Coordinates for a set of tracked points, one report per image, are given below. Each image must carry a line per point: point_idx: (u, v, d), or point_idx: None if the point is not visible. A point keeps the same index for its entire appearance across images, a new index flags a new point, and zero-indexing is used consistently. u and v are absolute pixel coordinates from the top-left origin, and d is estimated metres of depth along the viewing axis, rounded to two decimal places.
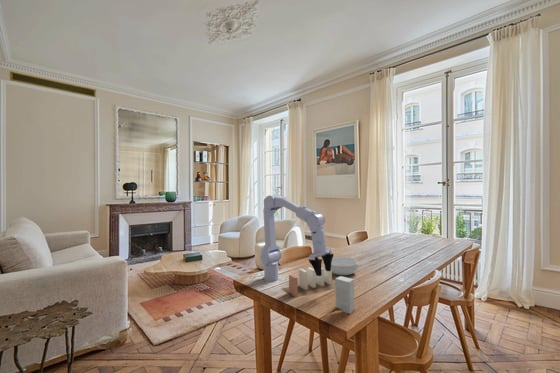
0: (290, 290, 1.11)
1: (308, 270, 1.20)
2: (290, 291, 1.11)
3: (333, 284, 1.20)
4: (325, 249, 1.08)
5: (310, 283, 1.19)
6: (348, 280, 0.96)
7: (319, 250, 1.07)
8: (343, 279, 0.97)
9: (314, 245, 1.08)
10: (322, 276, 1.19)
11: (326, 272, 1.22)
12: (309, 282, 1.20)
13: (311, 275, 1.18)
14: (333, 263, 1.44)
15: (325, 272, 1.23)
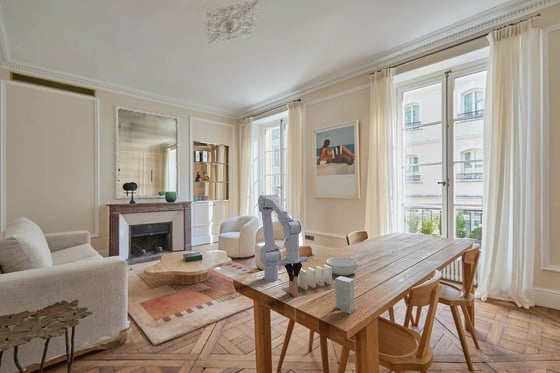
0: (290, 290, 1.11)
1: (308, 270, 1.20)
2: (290, 291, 1.11)
3: (333, 284, 1.20)
4: (295, 258, 1.08)
5: (310, 283, 1.19)
6: (348, 280, 0.96)
7: (289, 258, 1.08)
8: (343, 279, 0.97)
9: (286, 252, 1.10)
10: (322, 276, 1.19)
11: (326, 272, 1.22)
12: (309, 282, 1.20)
13: (311, 275, 1.18)
14: (333, 263, 1.44)
15: (325, 272, 1.23)
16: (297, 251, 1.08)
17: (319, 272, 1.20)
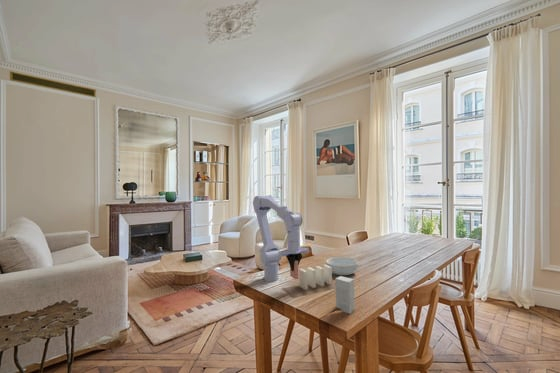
0: (291, 273, 1.16)
1: (308, 270, 1.20)
2: (291, 274, 1.16)
3: (333, 284, 1.20)
4: (296, 249, 1.12)
5: (310, 283, 1.19)
6: (348, 280, 0.96)
7: (290, 249, 1.13)
8: (343, 279, 0.97)
9: None
10: (322, 276, 1.19)
11: (326, 272, 1.22)
12: (309, 282, 1.20)
13: (311, 275, 1.18)
14: (333, 263, 1.44)
15: (325, 272, 1.23)
16: (298, 242, 1.13)
17: (319, 272, 1.20)
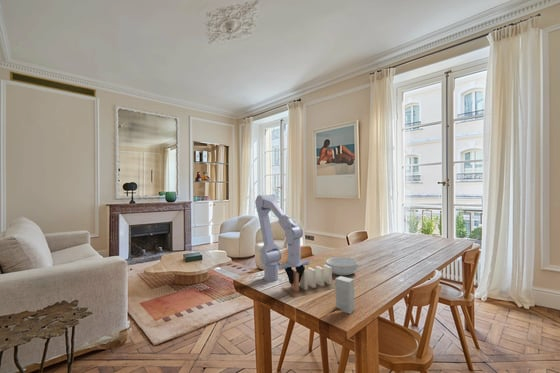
0: (292, 285, 1.16)
1: (308, 270, 1.20)
2: (292, 286, 1.16)
3: (333, 284, 1.20)
4: (296, 262, 1.13)
5: (310, 283, 1.19)
6: (348, 280, 0.96)
7: (290, 262, 1.13)
8: (343, 279, 0.97)
9: (288, 256, 1.15)
10: (322, 276, 1.19)
11: (326, 272, 1.22)
12: (309, 282, 1.20)
13: (311, 275, 1.18)
14: (333, 263, 1.44)
15: (325, 272, 1.23)
16: (298, 255, 1.14)
17: (319, 272, 1.20)
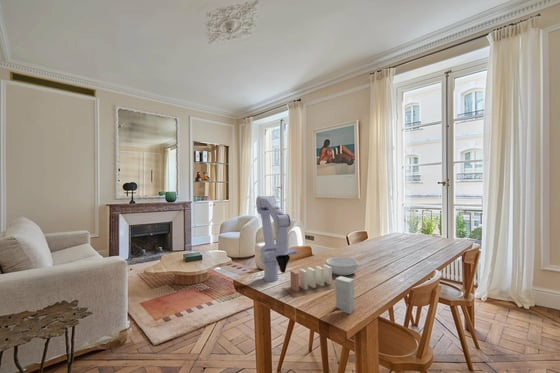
0: (292, 285, 1.16)
1: (308, 270, 1.20)
2: (292, 286, 1.16)
3: (333, 284, 1.20)
4: (284, 250, 1.11)
5: (310, 283, 1.19)
6: (348, 280, 0.96)
7: (278, 250, 1.11)
8: (343, 279, 0.97)
9: (276, 244, 1.13)
10: (322, 276, 1.19)
11: (326, 272, 1.22)
12: (309, 282, 1.20)
13: (311, 275, 1.18)
14: (333, 263, 1.44)
15: (325, 272, 1.23)
16: (286, 243, 1.11)
17: (319, 272, 1.20)
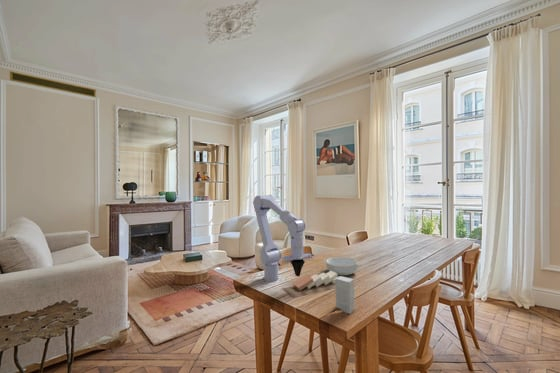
0: (296, 283, 1.17)
1: (322, 274, 1.24)
2: (296, 283, 1.17)
3: (333, 284, 1.20)
4: (299, 255, 1.14)
5: None
6: (348, 280, 0.96)
7: (293, 255, 1.14)
8: (343, 279, 0.97)
9: (291, 249, 1.16)
10: (332, 278, 1.21)
11: None
12: None
13: (323, 277, 1.21)
14: (333, 263, 1.44)
15: (337, 277, 1.26)
16: (301, 248, 1.14)
17: (332, 274, 1.23)
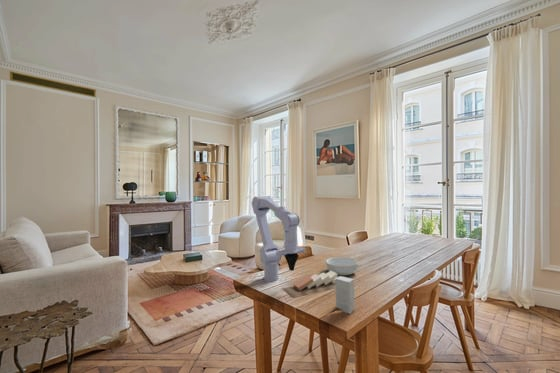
0: (296, 283, 1.17)
1: (322, 274, 1.24)
2: (296, 283, 1.17)
3: (333, 284, 1.20)
4: (293, 249, 1.13)
5: None
6: (348, 280, 0.96)
7: (287, 249, 1.13)
8: (343, 279, 0.97)
9: (285, 243, 1.15)
10: (332, 278, 1.21)
11: None
12: None
13: (323, 277, 1.21)
14: (333, 263, 1.44)
15: (337, 277, 1.26)
16: (295, 242, 1.14)
17: (332, 274, 1.23)
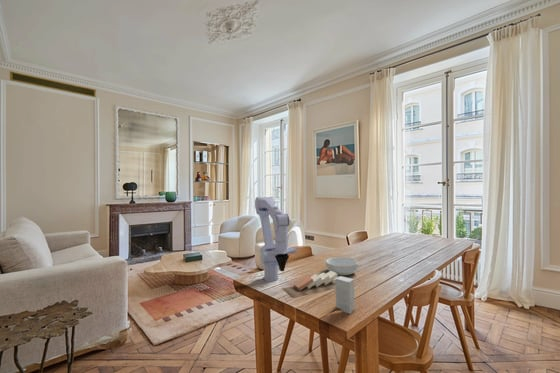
0: (296, 283, 1.17)
1: (322, 274, 1.24)
2: (296, 283, 1.17)
3: (333, 284, 1.20)
4: (283, 249, 1.12)
5: None
6: (348, 280, 0.96)
7: (277, 249, 1.13)
8: (343, 279, 0.97)
9: (275, 243, 1.15)
10: (332, 278, 1.21)
11: None
12: None
13: (323, 277, 1.21)
14: (333, 263, 1.44)
15: (337, 277, 1.26)
16: (285, 242, 1.13)
17: (332, 274, 1.23)
